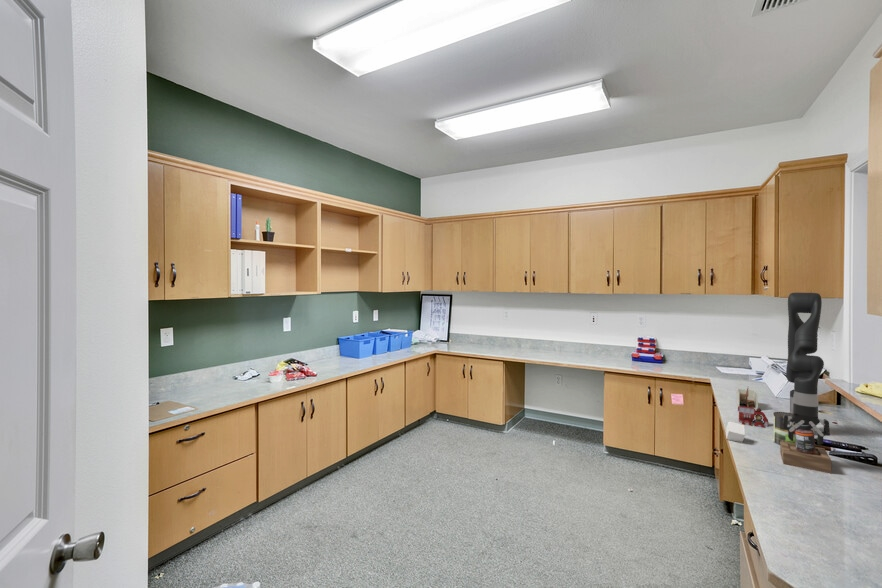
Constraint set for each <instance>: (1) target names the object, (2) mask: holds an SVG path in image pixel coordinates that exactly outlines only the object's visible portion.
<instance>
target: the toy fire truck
mask: <svg viewBox="0 0 882 588" xmlns="http://www.w3.org/2000/svg"><path fill="white" fill-rule="evenodd" d="M737 412H738V422H739V424H742V425H744V426H750V427H752V425H753V426H754V427H757V428H763V429H764V428H765V427H769V420H768V418H767V416H766V414H765V413H764V412H763V411H762V408H759V407H758V408H757V409H756V408H755V407H747V406H741V405H739V407H738V406H737Z"/></svg>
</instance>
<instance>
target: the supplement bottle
mask: <svg viewBox="0 0 882 588" xmlns="http://www.w3.org/2000/svg"><path fill="white" fill-rule="evenodd" d="M794 431H795V442H796V443H795V444H796V449H797V450H798V451H799V452H802V453H808V454H812V453H815V452H816V451H815V447H816V442H815V440H816V439H815V435H814V432H813V430H811V429H810V425H800V426H799V427H798V428H797V429H795V430H794Z"/></svg>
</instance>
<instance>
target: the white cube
mask: <svg viewBox="0 0 882 588" xmlns="http://www.w3.org/2000/svg"><path fill="white" fill-rule="evenodd" d="M745 432H746V430H745V425H743V424H742V423H738V422H733V421H728V422H727V425H726V429H725V436H726V438H725V439H726V440H729V441H733V442H738V443H743V441H744V439H745V436H746V433H745Z"/></svg>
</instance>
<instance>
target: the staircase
mask: <svg viewBox="0 0 882 588" xmlns="http://www.w3.org/2000/svg"><path fill="white" fill-rule="evenodd" d="M735 395H736V398H735V399H736V401H735V402H736V405H737V408H738V407H739V406H740V404H741V405H745V406H746V407H750V408H754V409H755V410H756V409H757V408H759V394H758V392H757V391H756V390H755V389H749V387H747V388H744V389H743V388H736V394H735Z"/></svg>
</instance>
